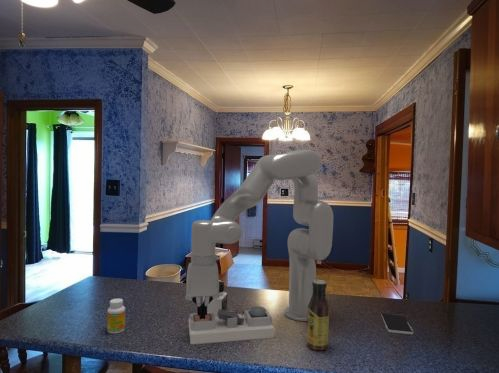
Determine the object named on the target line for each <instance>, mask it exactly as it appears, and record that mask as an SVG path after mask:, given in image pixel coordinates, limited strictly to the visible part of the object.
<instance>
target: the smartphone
mask: <svg viewBox="0 0 499 373" xmlns="http://www.w3.org/2000/svg"><path fill="white" fill-rule="evenodd" d="M380 314H381V318H382V321H383V323H384V325H385V329H386V330H387V332H389V333H394V334H405V335H414V330H413V329H412V328H413V327H411V325H410V324H409V322H408V321H407V318H406V317H405V315H403V314H393V313H380Z"/></svg>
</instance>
